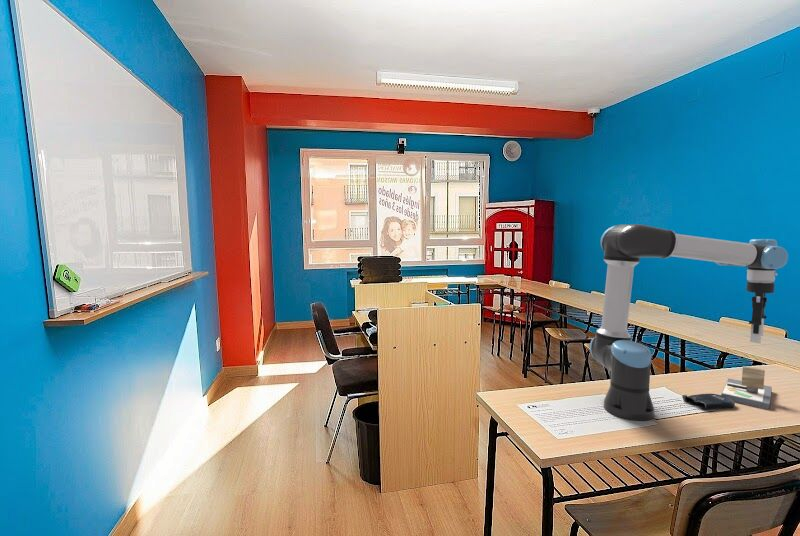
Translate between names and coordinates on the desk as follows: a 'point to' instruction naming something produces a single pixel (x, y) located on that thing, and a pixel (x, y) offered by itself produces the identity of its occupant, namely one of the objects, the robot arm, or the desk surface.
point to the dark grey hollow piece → (710, 400)
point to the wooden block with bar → (751, 379)
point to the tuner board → (747, 394)
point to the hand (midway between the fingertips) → (756, 338)
